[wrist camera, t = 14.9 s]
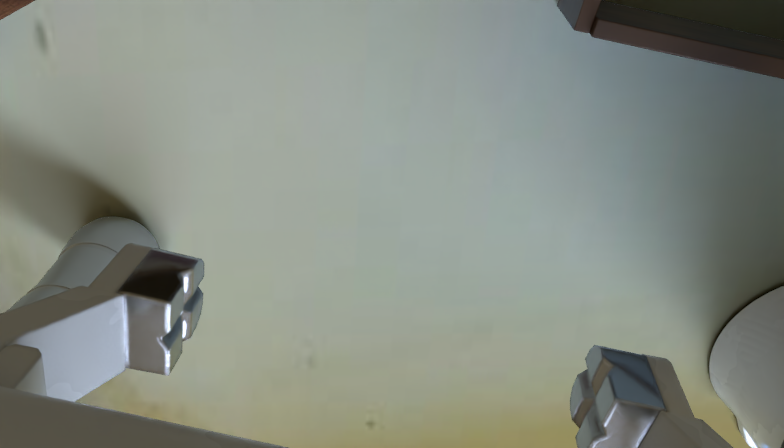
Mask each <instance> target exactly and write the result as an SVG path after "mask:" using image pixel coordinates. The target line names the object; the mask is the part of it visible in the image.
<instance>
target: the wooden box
mask: <svg viewBox="0 0 784 448" xmlns="http://www.w3.org/2000/svg"><path fill="white" fill-rule="evenodd" d="M557 7H558V8H559V9H560V11H561V12H562V14H563V15H564V16H565V18H566V19H567V21H568V22H569V23H570V25H571V26H572V28H573V29H574V30H576V31H580V32H585V33H590V35H591V36H592V37H594V38H599V39H603V40H608V41H612V42H617V43H621V44H626V45H631V46H635V47H640V48H644V49H649V50H653V51H658V52H663V53H667V54H672V55H676V56H681V57H685V58H690V59H695V60H699V61H704V62H708V63H713V64H717V65H722V66H726V67H731V68H736V69H740V70H745V71H749V72H754V73H758V74H763V75H768V76H772V77H777V78H781V79H784V41H783V40H779V39H774V38H770V37H765V36H761V35H756V34H752V33H747V32H742V31H738V30H733V29H729V28H724V27H720V26H715V25H711V24H706V23H702V22H697V21H693V20H688V19H683V18H679V17H674V16H670V15H665V14H661V13H656V12H652V11H647V10H643V9H638V8H633V7H629V6H624V5H620V4H615V3H611V2H606V1H602V0H558V3H557Z"/></svg>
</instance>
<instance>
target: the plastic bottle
mask: <svg viewBox="0 0 784 448" xmlns="http://www.w3.org/2000/svg"><path fill="white" fill-rule="evenodd" d="M129 243H135V244H140V245H144V246H149V247H153V248H158V249H160V248H159V246H158V243H157V241H156V239H155V238H154V236H153V235H152V234H151V233H150V232H149V231H148V229H146V228H145V227H144V226H142V225H141V224H139V223H137V222H136V221H133V220H131V219H128V218H122V217H109V216H107V217H102V218H98V219H96V220H94V221H92V222H90V223H88V224H87V225H85V226H83V227H82V228H80V229H79V230H78V231H76V232H75V233H74V235H73V236H72V237H71V239H70V240H69V241H68V243H67V244H66V245H65V247H64V248H63V250H62V252H61V253H60V255H59V258H58V260H57V261H56V262H55V263H54V264H53V266H52V267H51V268H50V269H49V271H48V272H47V273H46V274H45V275H44V277H43V278H42V279H41V280H40V282H39V283H38V284H37V285H36V286H35V287H33V288H32V289H31V290H30V291H29V292H28V293H27V294H26V295H25V296H23V297H22V298H21V299H20V300H19V301H17V302H16V303H15V304H14V305H13V306H12V307H11V308H10V309H8V310H7V311H10V310H13V309H16V308H19V307H21V306H24V305H27V304H30V303H33V302H35V301H38V300H41V299H44V298H47V297H50V296H52V295H55V294H58V293H61V292H64V291H66V290H69V289H72V288H75V287H78V286H86V287H88V286H89V285H90V284H91V283H92V282H93V281H94V279H95V278H96V277H97V276H98V275H99V274H100V273H101V272H102V270H103V269H104V268H105V267H106V266H107V265H108V264H109V263H110V261H111V260H112V259H113V258H114V257H115V256H116V255H117V254H118V252H119V251H120V250H121V249H122V248H123V247H124V246H125V245H126V244H129ZM7 311H6V312H7Z"/></svg>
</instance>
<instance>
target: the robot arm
mask: <svg viewBox="0 0 784 448" xmlns="http://www.w3.org/2000/svg"><path fill="white" fill-rule="evenodd" d="M203 277H204V262H203V260H202V259H200V258H195V257H191V256H187V255H183V254H179V253H175V252H170V251H166V250H162V249H158V248H153V247H149V246H144V245H140V244H135V243H129V244H126V245H125V246H124V247H123V248H122V249H121V250H120V251H119V252H118V254H117V255H116V256H115V257H114V258H113V259H112V260H111V261H110V263H109V264H108V265H107V266H106V267H105V268H104V269H103V270H102V272H101V273H100V274H99V275H98V276H97V277H96V278H95V279H94V281H93V282H92V283H91V284H90V285H89V286H88V287H86V286H78V287H75V288H72V289H69V290H66V291H64V292H61V293H58V294H55V295H52V296H50V297H47V298H44V299H41V300H38V301H35V302H33V303H30V304H27V305H24V306H21V307H19V308H16V309H13V310H10V311H7V312H4V313H2V314H0V448H288V447H283V446H278V445H274V444H269V443H264V442H260V441H255V440H250V439H246V438H241V437H236V436H232V435H227V434H222V433H218V432H213V431H208V430H204V429H199V428H194V427H190V426H185V425H180V424H176V423H171V422H166V421H161V420H157V419H152V418H147V417H143V416H138V415H133V414H129V413H124V412H119V411H115V410H110V409H105V408H101V407H96V406H91V405H87V404H82V403H77V402H74V401H76V400H78V399H79V398H81V397H82V396H84V395H86V394H87V393H89V392H91V391H92V390H94V389H95V388H97V387H99V386H100V385H102V384H104V383H105V382H107V381H108V380H110V379H112V378H113V377H115V376H116V375H118V374H120V373H121V372H123V371H125V368H130V369H135V370H141V371H146V372H152V373H157V374H162V375H168V376H169V374H170V373H171V371H172V369H173V367H174V366H175V364H176V362H177V360H178V359H179V357H180V355H181V354H182V342H183V341H185V340H187V339H189V338H191V336H192V334H193V332H194V330H195V329H196V326H197V323H198V321H199V318H200V315H201V310H202V304H203V293H202V291H201V290H200V288H199V287H198V285H199V284H200V282H201V281H202V279H203ZM585 360H586V364H587V368H588V369H587V370H585V371H583V372H582V373H580V374H578V375H577V378H576V380H575V382H574V385H573V387H572V392H571V397H570V411H571V417H572V420H573V421H574V422H575V424H576V425H577V426H578V427H579V428H580V429H579V431H578V433H577V435H576V437H575V438H576V442H577V447H578V448H733V447H732V446H731V445H730V444H729V443H727V442H726V441H725V440H724V439H723V438H722V437H721V436H720V435H719V434H717V433H716V432H715V431H714V430H713V429H712V428H711V427H710V426H708V425H707V424H706V423H705V422H704V421H703V420H701V419H697V418H695V417H694V415H693V413H692V410H691V408H690V406H689V403H688V401H687V399H686V396H685V394H684V392H683V389H682V387H681V385H680V382H679V380H678V378H677V375H676V373H675V371H674V368H673V366H672V364H671V362H670V361H669V360H667V359H665V358H660V357H655V356H650V355H644V354H642V355H640V354H635V353H631V352H626V351H621V350H617V349H612V348H607V347H603V346H598V345H594V346H593V347H592V348H591V349H590V350H589V352H588V354H587V356H586V358H585ZM709 374H710V379H711V383H712V385H713V388H714V390H715V391H716V393H717V395H718V396H719V397H720V399H721V400H722V401H723V402H724V403H725V404H726V405H727V406H728V407H729V409H730V410H731V411H732V412H733V414H734V415H735V416H736V417H737V423H738V427H739V431H740V433H741V435H742V436H743V438H744V439H745V441H746V442H747V444H748V445H749V446H750V447H752V448H784V286H782V287H780V288H777V289H775V290H773V291H771V292H769V293H767V294H765V295H763V296H761V297H760V298H758V299H757V300H755V301H753V302H752V303H751V304H749V305H748V306H746V307H745V308H744V309H743V310H741V311H740V312H739V313H738V314H737V315H736V316H735V317H734V318H733V319H732V320H731V321H730V322H729V323H728V324H727V325H726V327H725V328H724V329H723V331H722V332H721V334H720V335H719V337H718V338H717V340H716V342H715V344H714V347H713V349H712V352H711V356H710V362H709Z"/></svg>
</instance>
